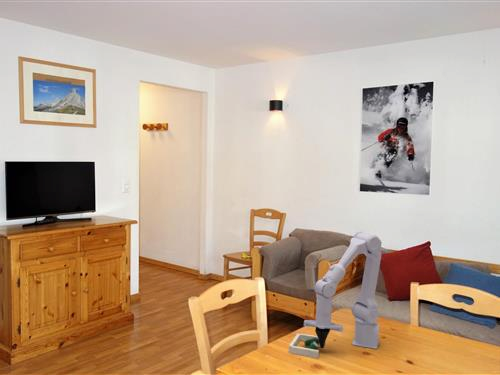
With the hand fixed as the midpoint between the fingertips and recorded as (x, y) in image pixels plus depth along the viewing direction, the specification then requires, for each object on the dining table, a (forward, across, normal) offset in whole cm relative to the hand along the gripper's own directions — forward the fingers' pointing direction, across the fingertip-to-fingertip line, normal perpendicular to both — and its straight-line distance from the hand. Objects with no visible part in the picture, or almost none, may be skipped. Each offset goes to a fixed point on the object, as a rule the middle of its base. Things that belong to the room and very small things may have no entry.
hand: (322, 347), depth 171 cm
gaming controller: (+2, -4, -1) cm, 5 cm away
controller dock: (+1, -5, 0) cm, 5 cm away
